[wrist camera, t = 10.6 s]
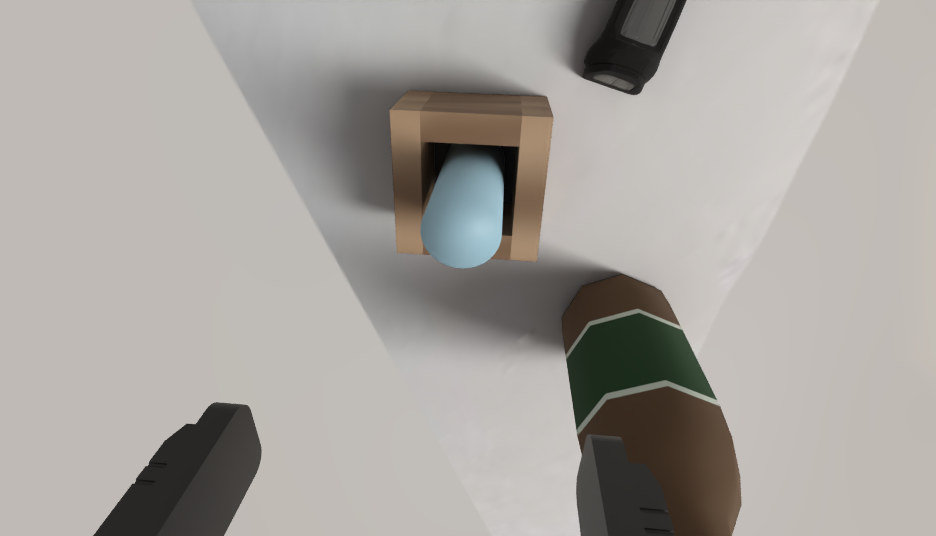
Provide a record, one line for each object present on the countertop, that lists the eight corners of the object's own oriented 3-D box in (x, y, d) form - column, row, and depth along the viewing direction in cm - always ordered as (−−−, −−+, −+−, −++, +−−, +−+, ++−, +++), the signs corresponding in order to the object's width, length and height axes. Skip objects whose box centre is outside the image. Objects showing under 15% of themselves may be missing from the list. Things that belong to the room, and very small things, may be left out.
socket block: (408, 90, 28) (389, 109, 24) (546, 96, 28) (553, 117, 23) (412, 216, 32) (397, 252, 28) (533, 223, 32) (536, 261, 27)
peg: (446, 131, 29) (419, 192, 20) (506, 133, 29) (504, 197, 20) (446, 187, 31) (421, 266, 22) (502, 190, 31) (499, 270, 22)
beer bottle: (626, 249, 32) (835, 729, 11) (692, 320, 34) (962, 822, 14) (537, 313, 35) (573, 779, 15) (603, 374, 38) (714, 847, 17)
